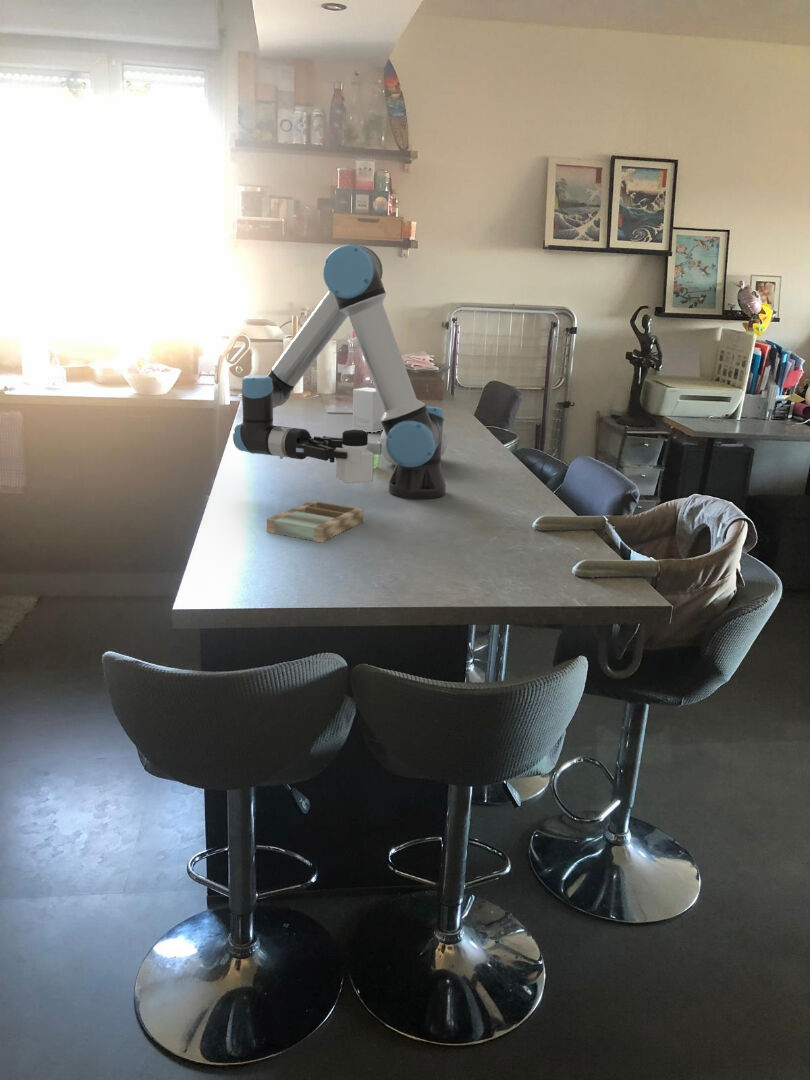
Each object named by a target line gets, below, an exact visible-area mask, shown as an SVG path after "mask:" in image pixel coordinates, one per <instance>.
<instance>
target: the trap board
mask: <svg viewBox="0 0 810 1080" xmlns="http://www.w3.org/2000/svg"><path fill="white" fill-rule="evenodd" d="M361 522H362V523H364V509H361V508H358V507H357V508H356V507H350V506H345V505H339V504H332V503H327V502H321V501H316V500H309V501H307V502H304V503H302V504H300V505H297V506H295V507H293V508H292V507H291V508H290V509H288V510H285V511H283V512H280V513H278V514H276V515H274V516H271V517H268V518H266V533H268V534H274V533H275V534H274V535H279V534H281V535H280V536H284V535H287V536H286V537H289V536H292V537H291V538H294V537H296V539H300V538H302V539H301V540H305V539H307V541H310V540H311V541H310V542H315V541H316V542H317V543H320V542H321V543H322V542H323V543H324V542H326V541H328V540H331V539H333V538H334V537H336V536H338V535H340V534H342V533H344V532H346V531H348V530H350V529H352V528H354V527H356V526H358V525H360V524H361ZM359 523H360V524H359ZM357 524H358V525H357ZM355 525H356V526H355ZM353 526H354V527H353ZM351 527H352V528H351ZM349 528H350V529H349ZM347 529H348V530H347ZM345 530H346V531H345ZM343 531H344V532H343ZM341 532H342V533H341ZM339 533H340V534H339ZM337 534H338V535H337ZM335 535H336V536H335ZM333 536H334V537H333ZM316 542H315V543H316Z"/></svg>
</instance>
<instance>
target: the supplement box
mask: <svg viewBox="0 0 810 1080" xmlns="http://www.w3.org/2000/svg"><path fill="white" fill-rule="evenodd" d="M352 396H353V397H352V399H353V400H352V429H353V428H356V429H362V430H368V431H376V430H382V429H383V426H382V423H381V420H380V419H381V417H382V415H383V411H384V410H383V408H382V405H381V402H380V400H379V397H378V394H377V391H376V389H375V387H361V388H360V387H359V388H354V389H353V391H352Z"/></svg>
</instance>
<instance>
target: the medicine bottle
mask: <svg viewBox="0 0 810 1080" xmlns="http://www.w3.org/2000/svg"><path fill="white" fill-rule="evenodd" d="M368 435H369V433H367V432H365V431H363V430H357V429H353V428H351V429H347V430H344V431H343V432H342V437H341V438H342V447H343V448H344V449H352V450H360V451H362V462H360V463H359V462H351V461H343V460H336V468H335V469H336V475H335V476H336V477H337V478H338V480H340V481H342V482H343V483H344V484H353V483H354V484H356V483H357V484H358V483H371V482H372V483H373V481H374V454H373V453H372V452H371V451H369V450H367V449H366V448H367V447H368V442H369V441H368Z"/></svg>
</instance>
